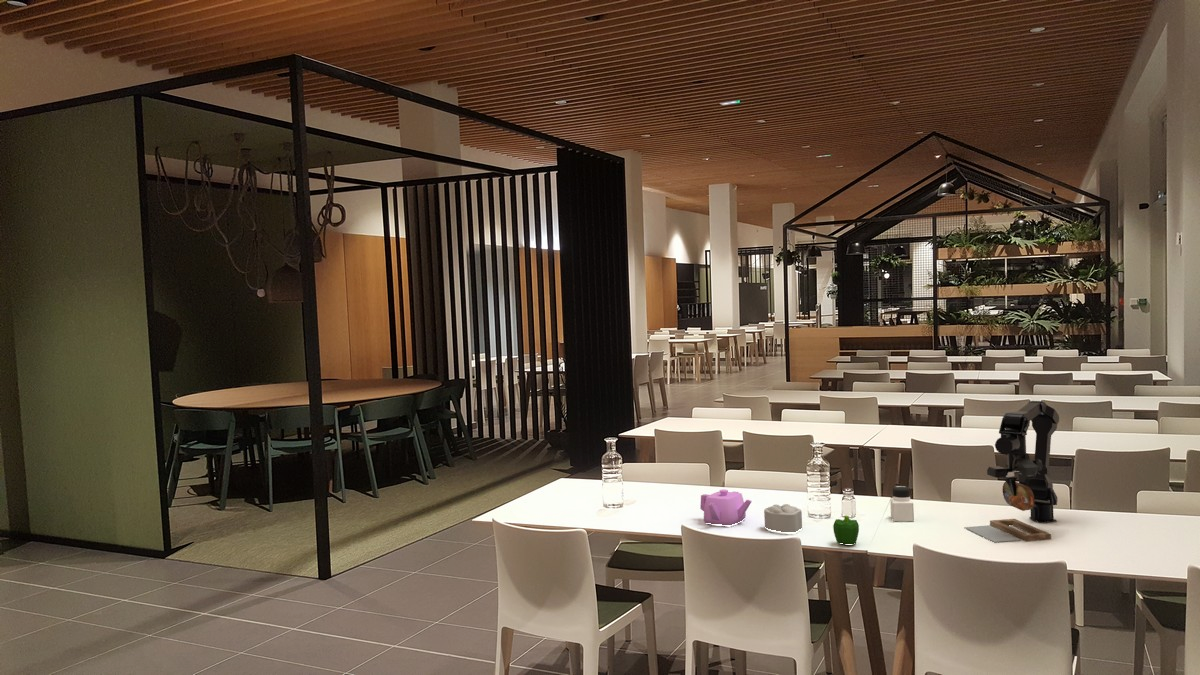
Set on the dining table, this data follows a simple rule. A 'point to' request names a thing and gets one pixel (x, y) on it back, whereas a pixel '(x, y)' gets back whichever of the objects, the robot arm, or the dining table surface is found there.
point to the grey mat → (992, 534)
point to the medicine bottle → (901, 504)
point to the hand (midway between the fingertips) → (1018, 495)
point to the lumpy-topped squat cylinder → (783, 518)
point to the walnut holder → (1034, 536)
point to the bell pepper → (846, 530)
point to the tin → (1019, 497)
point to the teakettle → (724, 507)
